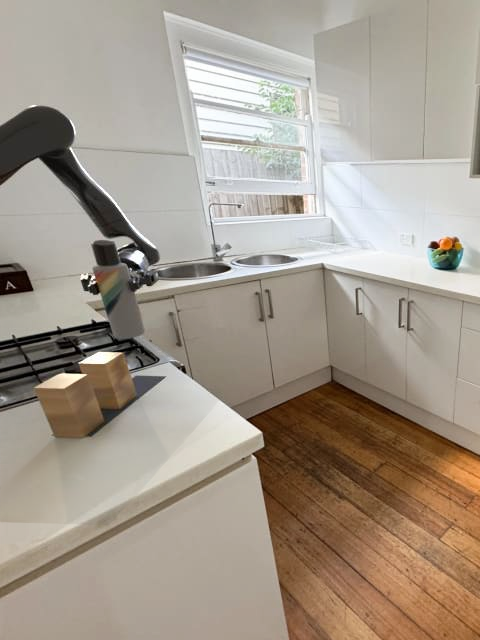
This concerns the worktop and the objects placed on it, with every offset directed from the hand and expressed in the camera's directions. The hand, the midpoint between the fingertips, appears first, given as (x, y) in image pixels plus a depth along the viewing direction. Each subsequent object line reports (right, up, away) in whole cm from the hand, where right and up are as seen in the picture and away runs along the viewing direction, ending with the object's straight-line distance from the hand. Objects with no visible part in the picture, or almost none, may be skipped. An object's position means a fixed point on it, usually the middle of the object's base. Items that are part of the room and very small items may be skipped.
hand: (113, 288), depth 76 cm
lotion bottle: (-2, -9, +7) cm, 11 cm away
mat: (0, -23, +1) cm, 23 cm away
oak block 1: (0, -27, -8) cm, 28 cm away
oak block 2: (0, -23, +1) cm, 23 cm away
